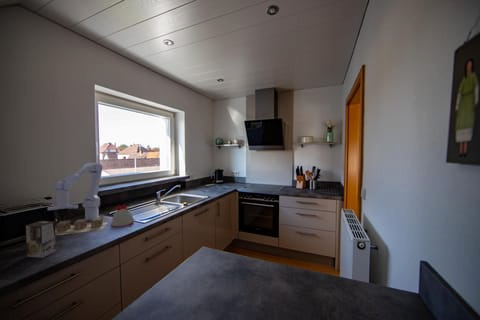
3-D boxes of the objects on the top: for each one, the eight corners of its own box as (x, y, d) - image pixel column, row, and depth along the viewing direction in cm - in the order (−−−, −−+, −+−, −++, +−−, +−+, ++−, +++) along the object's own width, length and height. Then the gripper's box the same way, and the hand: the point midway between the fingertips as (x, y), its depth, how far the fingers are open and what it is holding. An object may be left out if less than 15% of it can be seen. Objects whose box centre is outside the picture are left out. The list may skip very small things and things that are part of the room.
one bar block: (77, 227, 123) (77, 219, 123) (86, 226, 125) (86, 218, 124) (74, 230, 118) (74, 222, 118) (83, 229, 120) (83, 221, 120)
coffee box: (56, 251, 95) (56, 221, 95) (42, 258, 89) (41, 226, 88) (41, 249, 96) (40, 220, 95) (25, 256, 90) (25, 225, 89)
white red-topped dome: (113, 222, 135) (113, 202, 134) (134, 219, 141) (134, 201, 140) (109, 229, 122) (109, 208, 122) (132, 226, 128) (132, 206, 128)
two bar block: (94, 225, 126) (94, 218, 126) (102, 224, 128) (102, 217, 128) (91, 228, 121) (91, 220, 121) (100, 227, 123) (100, 219, 123)
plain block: (60, 228, 119) (60, 221, 119) (70, 227, 121) (70, 220, 121) (56, 232, 115) (56, 224, 114) (66, 230, 117) (66, 223, 116)
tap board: (60, 227, 123) (60, 226, 123) (109, 222, 134) (109, 221, 134) (45, 238, 109) (45, 236, 109) (102, 231, 119) (102, 229, 119)
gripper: (44, 202, 111) (44, 223, 111) (74, 200, 116) (74, 220, 117) (51, 199, 117) (51, 219, 118) (79, 197, 123) (79, 217, 123)
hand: (63, 220), depth 118 cm, fingers closed
